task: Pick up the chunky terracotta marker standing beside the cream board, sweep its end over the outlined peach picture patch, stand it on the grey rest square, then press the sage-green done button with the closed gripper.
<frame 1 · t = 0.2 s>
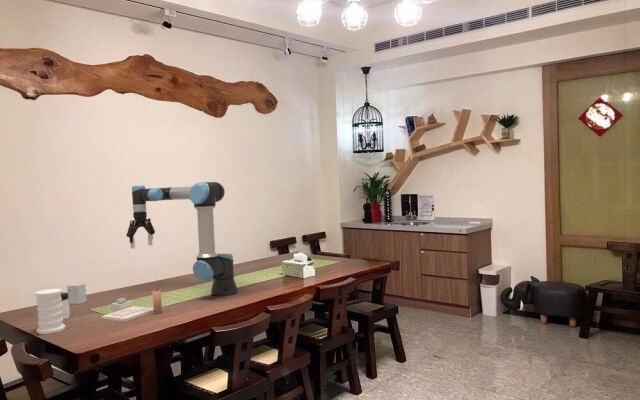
hand: (141, 246, 302), 28 cm above the table, fingers open, 13 cm apart
small box: (77, 303, 284), on the table
marker: (157, 312, 254), on the table
done button: (121, 302, 265), point 4 cm above the table, slide at 0.0 cm
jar: (60, 318, 252), on the table
button housing: (121, 309, 265), on the table
board: (129, 314, 253), on the table
decorative container: (51, 330, 231), on the table
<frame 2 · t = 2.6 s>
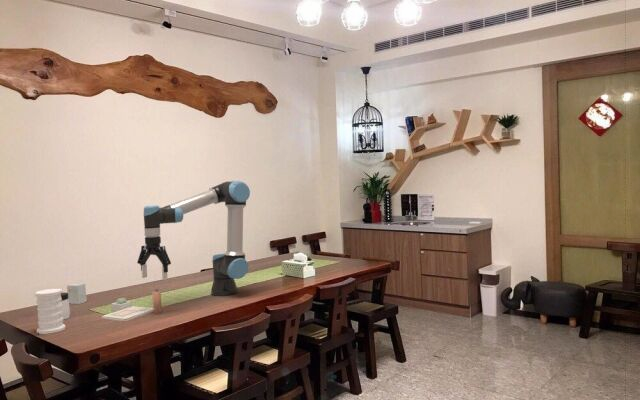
hand: (154, 278, 255), 17 cm above the table, fingers open, 13 cm apart
nothing on the table moved.
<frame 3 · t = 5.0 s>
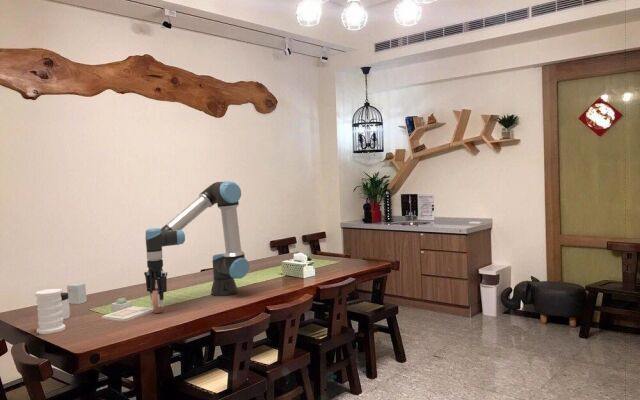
hand: (157, 305, 254), 4 cm above the table, fingers closed on marker, 3 cm apart
marker: (158, 312, 254), on the table, touching gripper
everything else where it was.
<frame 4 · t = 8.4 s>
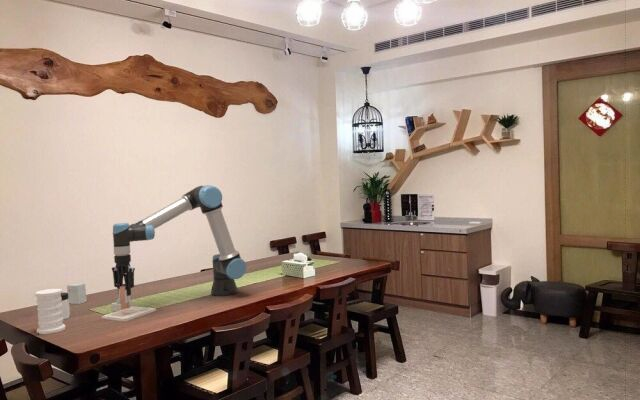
hand: (124, 301, 249), 7 cm above the table, fingers closed on marker, 3 cm apart
marker: (125, 308, 249), point 4 cm above the table, touching gripper
everything else where it was.
when the fingers open (7 cm above the table, at t = 12.1 s): marker drops 2 cm, resting on board.
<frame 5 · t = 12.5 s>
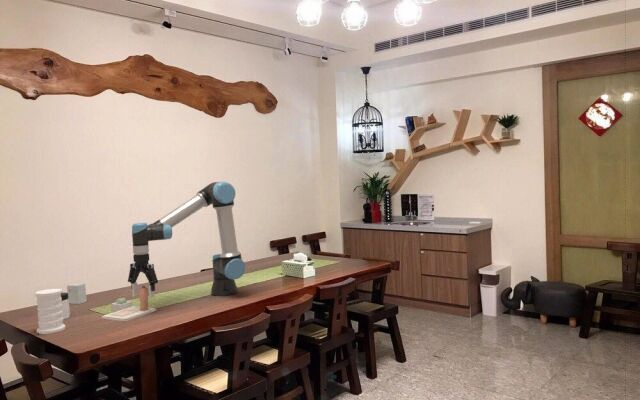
hand: (143, 296, 256), 8 cm above the table, fingers open, 11 cm apart
marker: (144, 309, 256), point 1 cm above the table, touching board
everything else where it was.
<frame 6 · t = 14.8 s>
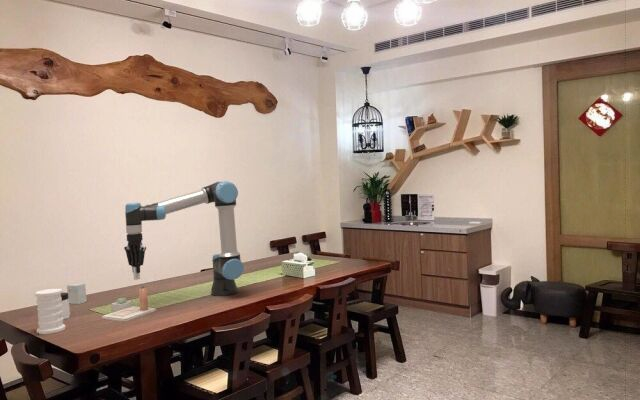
hand: (136, 279, 257), 17 cm above the table, fingers closed
nothing on the table moved.
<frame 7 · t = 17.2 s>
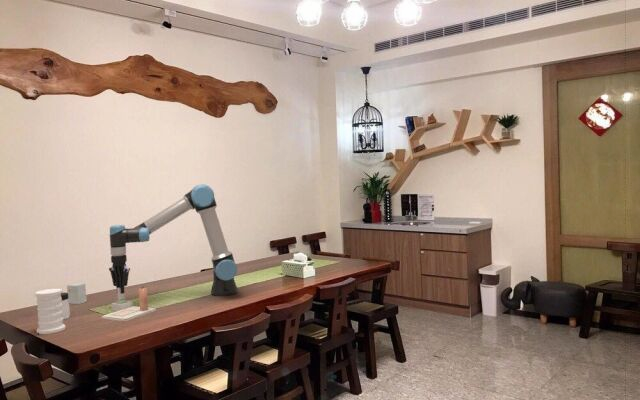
hand: (121, 299, 265), 5 cm above the table, fingers closed
done button: (121, 303, 265), point 3 cm above the table, slide at 0.6 cm, touching gripper
everything else where it was.
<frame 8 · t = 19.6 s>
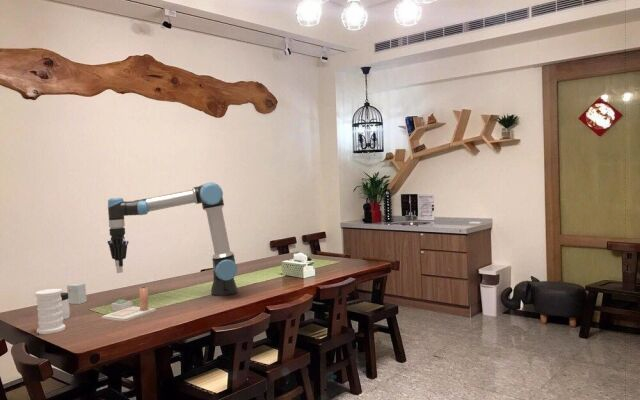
hand: (119, 272, 264), 19 cm above the table, fingers closed
done button: (121, 304, 265), point 3 cm above the table, slide at 0.8 cm
everything else where it was.
at the end: done button slide at 0.8 cm; the gripper is holding nothing; marker inside the target area on the board (7.2 cm from its centre), point 1.3 cm above the board's base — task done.
